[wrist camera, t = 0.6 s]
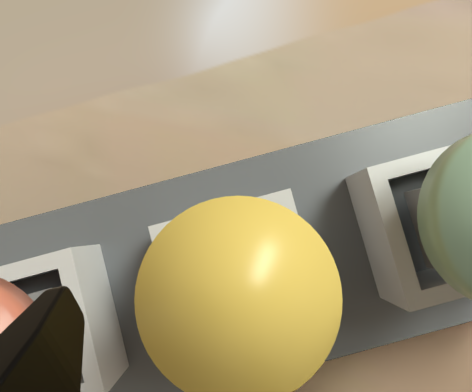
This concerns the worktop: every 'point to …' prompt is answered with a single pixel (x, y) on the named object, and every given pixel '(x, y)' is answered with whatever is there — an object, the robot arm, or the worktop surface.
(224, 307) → the button mustard
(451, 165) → the button sage
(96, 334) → the control box
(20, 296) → the button brick
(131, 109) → the worktop surface
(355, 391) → the worktop surface
